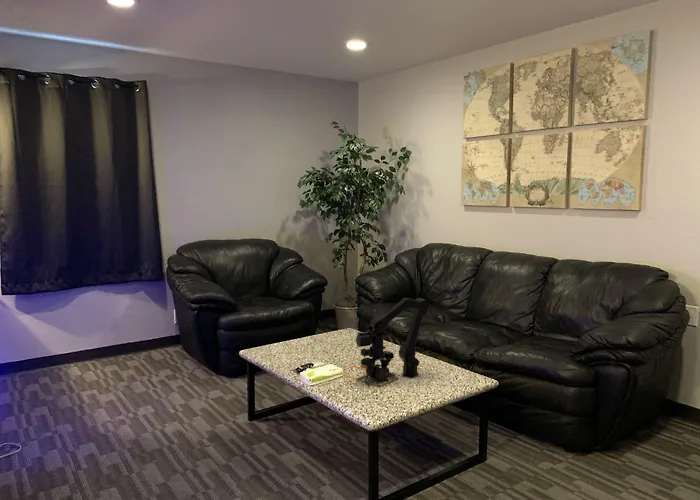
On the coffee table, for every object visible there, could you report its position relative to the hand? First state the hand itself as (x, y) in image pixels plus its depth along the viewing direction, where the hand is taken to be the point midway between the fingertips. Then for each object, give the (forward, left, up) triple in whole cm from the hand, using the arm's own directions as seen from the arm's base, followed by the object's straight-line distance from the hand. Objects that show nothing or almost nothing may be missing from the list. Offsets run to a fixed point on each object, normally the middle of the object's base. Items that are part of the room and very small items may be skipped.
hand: (377, 375), depth 256 cm
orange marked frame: (+15, 0, -2) cm, 15 cm away
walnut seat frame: (0, 0, -2) cm, 2 cm away
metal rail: (+7, -9, -2) cm, 12 cm away
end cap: (0, 0, -2) cm, 2 cm away
